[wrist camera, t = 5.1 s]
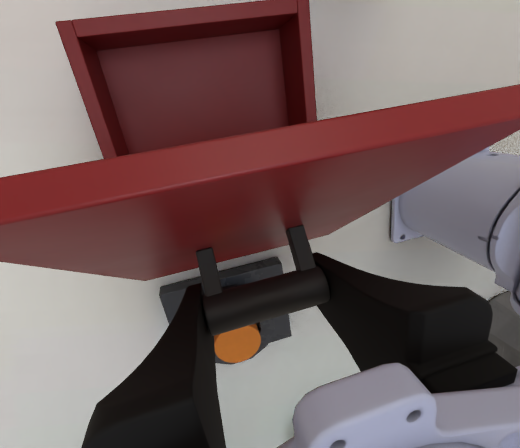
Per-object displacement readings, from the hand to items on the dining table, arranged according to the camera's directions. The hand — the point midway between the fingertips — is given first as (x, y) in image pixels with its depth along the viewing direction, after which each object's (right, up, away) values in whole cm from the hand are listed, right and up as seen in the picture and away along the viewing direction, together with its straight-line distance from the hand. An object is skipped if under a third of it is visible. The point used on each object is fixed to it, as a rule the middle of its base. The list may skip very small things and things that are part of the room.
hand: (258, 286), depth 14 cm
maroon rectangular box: (-3, +9, +7) cm, 12 cm away
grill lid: (0, +3, -2) cm, 4 cm away
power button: (-2, -6, +10) cm, 11 cm away
